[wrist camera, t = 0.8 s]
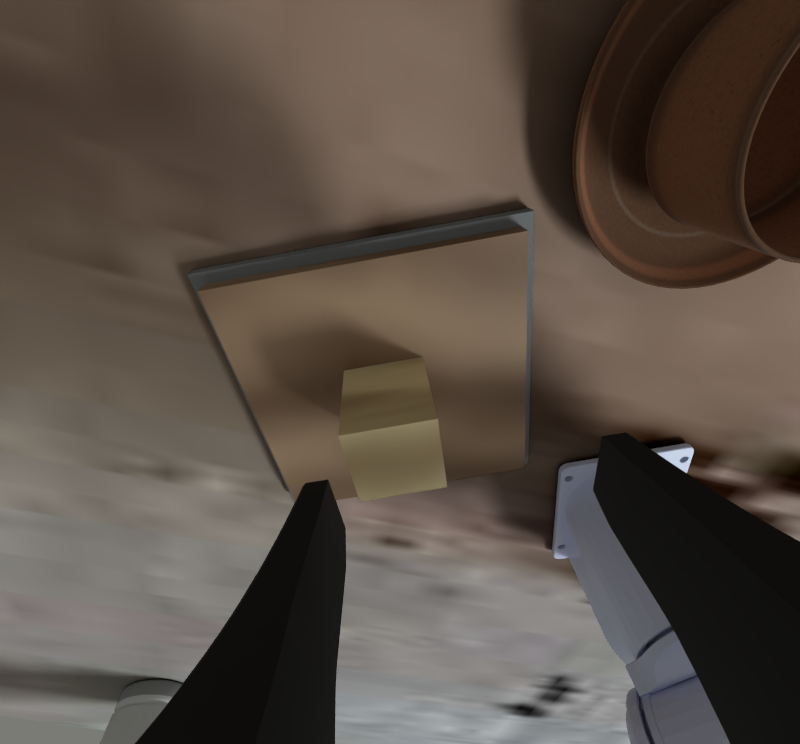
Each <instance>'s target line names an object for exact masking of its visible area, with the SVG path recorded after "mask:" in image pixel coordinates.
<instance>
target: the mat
mask: <svg viewBox="0 0 800 744" xmlns="http://www.w3.org/2000/svg"><path fill="white" fill-rule="evenodd" d="M519 226H522V227H523V228H525V229H526V230H528V283H527V349H526V414H525V463H528V461H529V416H530V371H531V327H532V282H533V237H534V210H532V209H530V208H526V209H520V210H515V211H509V212H504V213H498V214H493V215H488V216H482V217H477V218H471V219H466V220H461V221H455V222H450V223H444V224H439V225H433V226H428V227H423V228H417V229H412V230H406V231H401V232H396V233H390V234H385V235H379V236H374V237H368V238H363V239H358V240H352V241H347V242H341V243H336V244H331V245H325V246H320V247H314V248H309V249H303V250H298V251H293V252H287V253H282V254H276V255H271V256H266V257H260V258H255V259H249V260H244V261H239V262H233V263H228V264H222V265H217V266H211V267H206V268H201V269H195V270H192V271H191V272H190V273H188V274H187V276H188V278H189V280H190V282H191V285H192V287H193V289H194V291H195V293H196V295H197V297H198V300H199V302H200V304H201V306H202V308H203V310H204V312H205V314H206V317H207V319H208V321H209V323H210V325H211V327H212V329H213V332H214V334H215V336H216V338H217V340H218V342H219V344H220V347H221V349H222V351H223V353H224V355H225V357H226V359H227V362H228V364H229V366H230V368H231V370H232V372H233V374H234V377H235V379H236V381H237V383H238V385H239V387H240V389H241V392H242V394H243V396H244V398H245V400H246V402H247V404H248V407H249V409H250V411H251V413H252V415H253V417H254V419H255V421H256V424H257V426H258V428H259V430H260V432H261V434H262V436H263V439H264V441H265V443H266V445H267V447H268V449H269V451H270V454H271V456H272V458H273V460H274V462H275V464H276V466H277V469H278V471H279V473H280V475H281V477H282V479H283V481H284V484H285V486H286V488H287V490H288V492H289V494H290V496H291V499H292V501H293V502H295V501H294V499H293V497H292V495H291V492H290V490H289V488H288V486H287V484H286V482H285V480H284V477H283V475H282V473H281V471H280V469H279V467H278V464H277V462H276V460H275V458H274V456H273V454H272V452H271V449H270V447H269V445H268V443H267V441H266V439H265V436H264V434H263V432H262V430H261V428H260V426H259V423H258V421H257V419H256V417H255V415H254V413H253V411H252V408H251V406H250V404H249V402H248V400H247V398H246V395H245V393H244V391H243V389H242V387H241V385H240V382H239V380H238V378H237V376H236V374H235V372H234V370H233V367H232V365H231V363H230V361H229V359H228V357H227V354H226V352H225V350H224V348H223V346H222V344H221V341H220V339H219V337H218V335H217V333H216V331H215V329H214V326H213V324H212V322H211V320H210V318H209V316H208V313H207V311H206V309H205V307H204V305H203V303H202V301H201V298H200V296H199V294H198V292H197V291H198V290H199V289H200V288H201V287H202V286H203V285H204V284H209V283H214V282H220V281H225V280H231V279H236V278H242V277H247V276H252V275H258V274H263V273H269V272H274V271H280V270H285V269H291V268H296V267H301V266H307V265H312V264H318V263H323V262H329V261H334V260H340V259H345V258H350V257H356V256H361V255H367V254H372V253H378V252H383V251H389V250H394V249H400V248H405V247H410V246H416V245H421V244H427V243H432V242H438V241H443V240H449V239H454V238H459V237H465V236H470V235H476V234H481V233H487V232H492V231H498V230H503V229H508V228H514V227H519Z"/></svg>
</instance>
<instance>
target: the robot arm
mask: <svg viewBox="0 0 800 744" xmlns="http://www.w3.org/2000/svg"><path fill="white" fill-rule="evenodd" d="M693 453H694V449H693V447H692V446H691V445H690V444H678V445H672V446H666V447H660V448H654V449H650V448H648V447H647V446H645V445H644V444H642V443H641V442H639V441H638V440H636V439H635V438H633V437H632V436H630V435H629V434H627V433H621V434H614V435H608V436H602V440H601V446H600V452H599V457H598V458H595V459H589V460H583V461H577V462H571V463H566V464H563V465H562V466H561V467H560V468H559V473H558V485H557V497H556V509H555V521H554V534H553V546H552V554H553V556H554V557H555V558H556V559H562V558H569V560H570V562H571V564H572V566H573V568H574V570H575V573H576V575H577V577H578V579H579V581H580V583H581V585H582V588H583V590H584V592H585V594H586V596H587V598H588V600H589V603H590V605H591V607H592V609H593V611H594V613H595V616H596V618H597V620H598V622H599V624H600V626H601V628H602V631H603V633H604V635H605V637H606V639H607V641H608V642H609V644H610V646H611V647H612V649H613V650H614V652H615V653H616V654H617V655H618V656H619V658H620V659H621V660H622V661H623V662H624V663H625V664H627V665H626V669H627V671H628V673H629V675H630V677H631V679H632V681H633V683H634V686H635V688H633V689H631V690H629V692H628V694H627V700H626V707H627V711H626V724H627V730H628V735H629V739H630V742H631V744H800V542H799V541H797V540H796V539H794V538H792V537H790V536H788V535H787V534H785V533H783V532H781V531H779V530H778V529H776V528H774V527H772V526H771V525H769V524H767V523H766V522H764V521H762V520H761V519H759V518H757V517H756V516H754V515H752V514H750V513H749V512H747V511H745V510H744V509H742V508H740V507H739V506H737V505H735V504H734V503H732V502H731V501H729V500H727V499H726V498H724V497H722V496H721V495H719V494H718V493H716V492H715V491H713V490H711V489H710V488H708V487H707V486H705V485H704V484H702V483H701V482H699V481H697V480H696V479H694V478H693V477H691V476H690V475H688V474H687V471H688V468H689V465H690V462H691V459H692V456H693ZM345 572H346V534H345V526H344V523H343V520H342V517H341V514H340V511H339V509H338V506H337V503H336V500H335V497H334V494H333V491H332V489H331V486H330V483H329V480H322V481H315V482H309V483H305V484H304V485H303V487H302V489H301V491H300V493H299V495H298V497H297V499H296V501H295V504H294V506H293V508H292V510H291V512H290V514H289V516H288V518H287V520H286V522H285V524H284V526H283V528H282V529H281V531H280V533H279V535H278V537H277V539H276V541H275V543H274V544H273V546H272V548H271V550H270V552H269V554H268V555H267V557H266V559H265V561H264V563H263V564H262V566H261V568H260V570H259V571H258V573H257V575H256V576H255V578H254V580H253V581H252V583H251V585H250V586H249V588H248V589H247V591H246V593H245V594H244V596H243V598H242V599H241V601H240V603H239V604H238V606H237V607H236V609H235V610H234V612H233V614H232V615H231V617H230V618H229V620H228V621H227V623H226V624H225V626H224V627H223V629H222V630H221V632H220V633H219V634H218V636H217V637H216V639H215V640H214V642H213V643H212V645H211V646H210V647H209V649H208V650H207V652H206V653H205V655H204V656H203V657H202V659H201V660H200V661H199V663H198V664H197V665H196V667H195V668H194V669H193V671H192V672H191V673H190V675H189V676H188V677H187V679H186V680H185V681H184V683H183V684H182V685H181V687H180V688H179V689H178V691H177V692H176V693H175V695H174V696H173V697H172V698H171V700H170V701H169V702H168V704H167V705H166V706H165V707H164V709H163V710H162V711H161V712H160V714H159V715H158V716H157V717H156V719H155V720H154V721H153V722H152V723H151V725H150V726H149V727H148V728H147V729H146V731H145V732H144V733H143V734H142V735H141V737H140V738H139V739H138V740H137V741H136V743H135V744H335V690H336V669H337V656H338V646H339V636H340V625H341V615H342V605H343V594H344V583H345Z"/></svg>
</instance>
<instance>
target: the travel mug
mask: <svg viewBox="0 0 800 744" xmlns="http://www.w3.org/2000/svg"><path fill="white" fill-rule="evenodd" d="M181 685H182V683H179V682H175V681H170V680H160V679H153V680H144V681H139V682H136V683H133V684H131V685H129V686H128V687H126V688H125V689H124V690H123V692H122V693H121V696H120V698H119V700H118V703H117V705H116V707H115V712H114V714H113V715H112V717H111V719H110V721H109V724H108V726H107V728H106V731H105V733H104V735H103V738H102V740H101V742H100V744H135V743H136V741H137V740H138V739H139V738H140V737H141V735H142V734H143V733H144V732H145V731H146V729H147V728H148V727H149V726H150V725H151V723H152V722H153V721H154V720H155V719H156V717H157V716H158V715H159V714H160V712H161V711H162V710H163V709H164V707H165V706H166V705H167V704H168V702H169V701H170V700H171V698H172V697H173V696H174V695H175V693H176V692H177V691H178V689H179V688H180V687H181Z"/></svg>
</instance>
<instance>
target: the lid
mask: <svg viewBox="0 0 800 744" xmlns="http://www.w3.org/2000/svg"><path fill="white" fill-rule="evenodd" d="M527 283H528V230H526V229H525V228H523V227H522V226H519V227H514V228H508V229H503V230H498V231H492V232H487V233H481V234H476V235H470V236H465V237H459V238H454V239H449V240H443V241H438V242H432V243H427V244H421V245H416V246H410V247H405V248H400V249H394V250H389V251H383V252H378V253H372V254H367V255H361V256H356V257H350V258H345V259H340V260H334V261H329V262H323V263H318V264H312V265H307V266H301V267H296V268H291V269H285V270H280V271H274V272H269V273H263V274H258V275H252V276H247V277H242V278H236V279H231V280H225V281H220V282H214V283H209V284H204V285H203V286H202V287H201V288H200V289H199V290H198V291H197V292H198V294H199V296H200V298H201V301H202V303H203V305H204V307H205V309H206V311H207V313H208V316H209V318H210V320H211V322H212V324H213V326H214V329H215V331H216V333H217V335H218V337H219V339H220V341H221V344H222V346H223V348H224V350H225V352H226V354H227V357H228V359H229V361H230V363H231V365H232V367H233V370H234V372H235V374H236V376H237V378H238V380H239V382H240V385H241V387H242V389H243V391H244V393H245V395H246V398H247V400H248V402H249V404H250V406H251V408H252V411H253V413H254V415H255V417H256V419H257V421H258V423H259V426H260V428H261V430H262V432H263V434H264V436H265V439H266V441H267V443H268V445H269V447H270V449H271V452H272V454H273V456H274V458H275V460H276V462H277V464H278V467H279V469H280V471H281V473H282V475H283V477H284V480H285V482H286V484H287V486H288V488H289V490H290V492H291V495H292V497H293V499H294V501H296V499H297V497H298V495H299V493H300V491H301V489H302V487H303V485H304V484H305V483H309V482H315V481H322V480H329V483H330V486H331V489H332V491H333V494H334V497H335V500H339V499H345V498H351V497H357V496H358V498H359V501H360V502H361V501H367V500H373V499H379V498H385V497H391V496H397V495H403V494H409V493H415V492H421V491H426V490H432V489H438V488H444V487H447V481H452V480H458V479H464V478H470V477H476V476H482V475H488V474H494V473H500V472H505V471H511V470H517V469H523V468H525V414H526V349H527Z"/></svg>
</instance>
